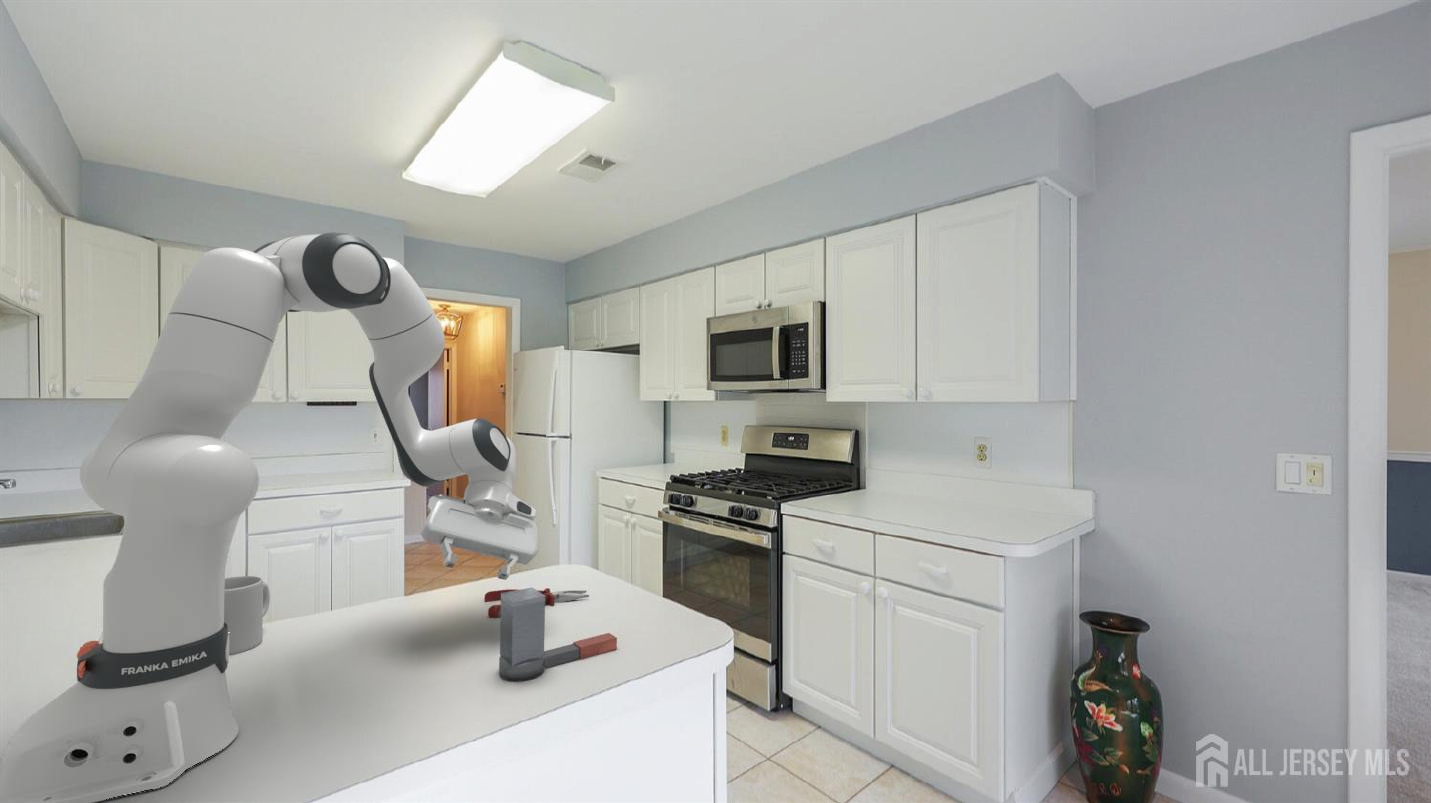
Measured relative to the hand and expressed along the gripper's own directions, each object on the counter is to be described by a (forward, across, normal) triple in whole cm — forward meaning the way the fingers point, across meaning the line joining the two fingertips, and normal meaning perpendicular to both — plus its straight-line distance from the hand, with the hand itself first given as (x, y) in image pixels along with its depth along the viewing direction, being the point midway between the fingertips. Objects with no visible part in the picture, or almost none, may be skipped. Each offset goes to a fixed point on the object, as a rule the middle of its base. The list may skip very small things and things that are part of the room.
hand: (476, 571), depth 105 cm
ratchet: (+14, +16, -1) cm, 21 cm away
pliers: (-7, +19, +19) cm, 28 cm away
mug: (+1, -28, +34) cm, 44 cm away
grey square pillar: (+14, +9, -2) cm, 17 cm away
